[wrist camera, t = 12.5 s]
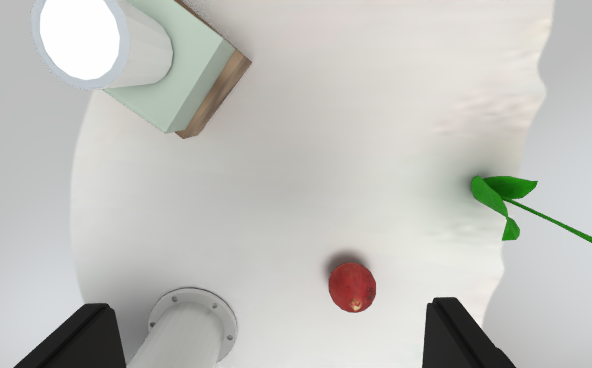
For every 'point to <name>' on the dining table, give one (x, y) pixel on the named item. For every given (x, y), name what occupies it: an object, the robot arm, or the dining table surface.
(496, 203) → the flower
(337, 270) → the onion
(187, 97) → the tower top block
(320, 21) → the dining table surface
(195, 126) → the tower base block
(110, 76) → the white cup
